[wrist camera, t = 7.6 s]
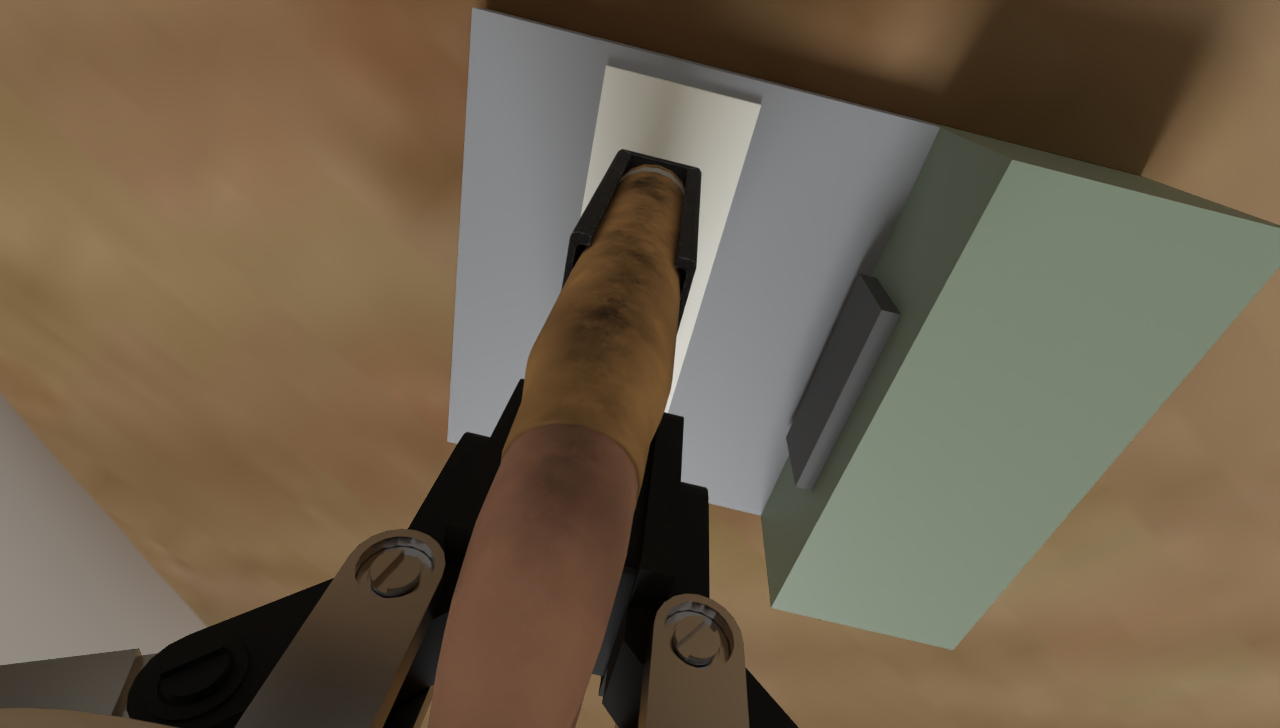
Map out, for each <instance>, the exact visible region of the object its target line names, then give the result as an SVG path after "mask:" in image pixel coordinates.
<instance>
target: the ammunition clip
mask: <svg viewBox="0 0 1280 728" xmlns="http://www.w3.org/2000/svg"><path fill="white" fill-rule="evenodd" d="M701 176H702V172H701V171H700V169H699V168H697V167H693V166H689V165H685V164H681V163H677V162H673V161H669V160H665V159H661V158H657V157H653V156H649V155H645V154H641V153H637V152H633V151H629V150H625V149H621V150H619V151H618V152H617V154H616V156H615V158H614V159H613V161H612V163H611V165H610V166H609V168H608V170H607V172H606V174H605V175H604V177H603V179H602V181H601V182H600V184H599V186H598V188H597V189H596V191H595V193H594V195H593V197H592V198H591V200H590V202H589V204H588V205H587V207H586V209H585V211H584V212H583V214H582V216H581V218H580V220H579V221H578V223H577V225H576V227H575V228H574V230H573V232H572V234H571V236H570V240H569V246H568V252H567V258H566V264H565V271H564V277H563V283H562V289H561V292H560V294H559V296H558V298H557V300H556V302H555V304H554V306H553V308H552V310H551V312H550V314H549V316H548V318H547V320H546V322H545V324H544V325H543V327H542V329H541V331H540V333H539V335H538V337H537V339H536V341H535V343H534V345H533V347H532V349H531V352H530V354H529V357H528V361H527V366H526V372H525V379H524V387H523V395H522V402H521V405H520V407H519V410H518V412H517V415H516V417H515V420H514V422H513V425H512V427H511V430H510V433H509V435H508V438H507V440H506V443H505V445H504V448H503V450H502V458H501V464H500V467H499V469H498V471H497V473H496V476H495V478H494V480H493V483H492V485H491V487H490V490H489V492H488V494H487V497H486V499H485V501H484V504H483V506H482V508H481V511H480V513H479V516H478V518H477V520H476V523H475V526H474V529H473V533H472V536H471V539H470V542H469V545H468V548H467V551H466V555H465V558H464V561H463V565H462V568H461V571H460V575H459V578H458V581H457V584H456V588H455V591H454V594H453V598H452V601H451V606H450V610H449V614H448V619H447V623H446V627H445V631H444V636H443V641H442V646H441V651H440V656H439V661H438V666H437V670H436V677H435V684H434V690H433V697H432V703H431V710H430V717H429V723H428V728H575V726H576V723H577V719H578V716H579V712H580V709H581V705H582V701H583V698H584V694H585V691H586V688H587V686H588V683H589V680H590V677H591V675H592V672H593V669H594V666H595V663H596V660H597V657H598V655H599V652H600V649H601V645H602V642H603V639H604V635H605V632H606V629H607V625H608V621H609V618H610V614H611V611H612V607H613V604H614V600H615V597H616V593H617V590H618V586H619V583H620V579H621V575H622V571H623V567H624V564H625V560H626V556H627V550H628V545H629V539H630V533H631V527H632V521H633V515H634V511H635V508H636V503H637V499H638V496H639V492H640V489H641V486H642V482H643V477H644V472H645V467H646V462H647V457H648V452H649V446H650V443H651V441H652V438H653V436H654V434H655V432H656V430H657V428H658V426H659V424H660V421H661V419H662V416H663V414H664V411H665V408H666V404H667V401H668V398H669V394H670V391H671V385H672V379H673V369H674V358H675V348H676V338H677V333H678V330H679V326H680V323H681V319H682V316H683V312H684V309H685V306H686V302H687V299H688V295H689V292H690V288H691V285H692V281H693V278H694V274H695V271H696V267H697V249H698V231H699V213H700V194H701Z"/></svg>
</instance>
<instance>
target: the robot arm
mask: <svg viewBox="0 0 1280 728" xmlns="http://www.w3.org/2000/svg"><path fill="white" fill-rule="evenodd" d="M523 387H524V379H520V380H519V382H518V384H517V386H516V388H515V390H514V392H513V394H512V396H511V398H510V400H509V402H508V404H507V405H506V407H505V409H504V411H503V413H502V415H501V417H500V419H499V421H498V423H497V425H496V427H495V429H494V431H493V433H492V435H491V437H488V436H483V435H479V434H475V433H470V432H466V433H464V434H463V436H462V437H461V439H460V440H459V442H458V444H457V446H456V447H455V449H454V451H453V452H452V454H451V456H450V458H449V459H448V461H447V463H446V464H445V466H444V468H443V470H442V471H441V473H440V475H439V476H438V478H437V480H436V482H435V483H434V485H433V487H432V488H431V490H430V492H429V494H428V495H427V497H426V499H425V500H424V502H423V504H422V506H421V507H420V509H419V511H418V512H417V514H416V516H415V518H414V519H413V521H412V523H411V524H410V526H409V528H408V529H397V530H389V531H385V532H382V533H379V534H376V535H374V536H371V537H370V538H368V539H367V540H365V541H364V542H362V543H361V544H359V545H358V546H357V547H356V548H355V550H354V551H353V552H352V553H351V554H350V555H349V557H348V558H347V560H346V561H345V563H344V564H343V566H342V567H341V569H340V570H339V572H338V573H337V575H336V576H335V578H333V579H330V580H328V581H325V582H323V583H320V584H317V585H315V586H312V587H310V588H307V589H305V590H302V591H300V592H297V593H294V594H292V595H289V596H287V597H284V598H282V599H279V600H277V601H274V602H271V603H269V604H266V605H264V606H261V607H259V608H256V609H254V610H251V611H248V612H246V613H243V614H241V615H238V616H236V617H233V618H231V619H228V620H225V621H223V622H220V623H218V624H215V625H213V626H210V627H208V628H205V629H203V630H200V631H197V632H195V633H193V634H190V635H188V636H186V637H184V638H182V639H180V640H178V641H176V642H174V643H172V644H170V645H168V646H167V647H166V648H165V649H163V650H162V651H160V652H159V653H157V654H150V655H141V652H140V650H139V648H138V649H130V650H123V651H114V652H105V653H98V654H89V655H81V656H73V657H65V658H56V659H48V660H40V661H32V662H24V663H15V664H8V665H0V728H420V727H421V724H422V722H423V719H424V717H425V715H426V712H427V710H428V707H429V705H430V702H431V700H432V697H433V690H434V684H435V677H436V670H437V666H438V661H439V656H440V651H441V646H442V641H443V636H444V631H445V627H446V623H447V619H448V614H449V610H450V606H451V601H452V598H453V594H454V591H455V588H456V584H457V581H458V578H459V575H460V571H461V568H462V565H463V561H464V558H465V555H466V551H467V548H468V545H469V542H470V539H471V536H472V533H473V529H474V526H475V523H476V520H477V518H478V516H479V513H480V511H481V508H482V506H483V504H484V501H485V499H486V497H487V494H488V492H489V490H490V487H491V485H492V483H493V480H494V478H495V476H496V473H497V471H498V469H499V467H500V464H501V458H502V450H503V448H504V445H505V443H506V440H507V438H508V435H509V433H510V430H511V427H512V425H513V422H514V420H515V417H516V415H517V412H518V410H519V407H520V405H521V402H522V395H523ZM683 430H684V417H683V416H678V415H674V414H670V413H666V412H664V414H663V416H662V419H661V421H660V424H659V426H658V428H657V430H656V432H655V434H654V436H653V438H652V441H651V443H650V446H649V452H648V457H647V462H646V467H645V472H644V477H643V482H642V486H641V489H640V492H639V496H638V499H637V503H636V508H635V511H634V515H633V521H632V527H631V533H630V539H629V545H628V550H627V556H626V560H625V564H624V567H623V571H622V575H621V579H620V583H619V586H618V590H617V593H616V597H615V600H614V604H613V607H612V611H611V614H610V618H609V621H608V625H607V629H606V632H605V635H604V639H603V642H602V645H601V649H600V652H599V655H598V657H597V660H596V663H595V666H594V669H593V672H592V674H595V675H600V676H601V682H600V688H599V696H603V701H602V704H603V705H604V707H605V708H606V710H607V711H608V712H609V714H610V715H611V717H612V718H613V720H614V721H615V723H616V724H615V728H798V727H797V725H796V724H795V723H794V722H793V721H792V720H791V719H790V717H789V716H788V715H787V714H786V713H785V712H784V711H783V709H782V708H781V707H780V706H779V705H778V704H777V703H776V702H775V700H774V699H773V698H772V697H771V696H770V695H769V694H768V692H767V691H766V690H765V689H764V688H763V687H762V686H761V684H760V683H759V682H758V681H757V680H756V679H755V678H754V676H753V675H752V674H751V673H750V672H749V671H748V670H747V668H746V667H745V655H744V643H743V638H742V634H741V630H740V628H739V626H738V625H737V623H736V621H735V619H734V618H733V616H732V615H731V614H730V613H729V612H728V611H727V610H726V609H725V608H724V607H723V606H721V605H720V604H718V603H717V602H715V601H714V600H712V599H710V598H709V496H708V489H707V488H706V487H702V486H698V485H694V484H689V483H685V482H681V470H682V450H683Z"/></svg>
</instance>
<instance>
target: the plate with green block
mask: <svg viewBox="0 0 1280 728" xmlns="http://www.w3.org/2000/svg"><path fill="white" fill-rule="evenodd" d="M621 149H625V150H629V151H633V152H637V153H641V154H645V155H649V156H653V157H657V158H661V159H665V160H669V161H673V162H677V163H681V164H685V165H689V166H693V167H697V168H699V169H700V171H701V172H702V176H701V194H700V213H699V231H698V249H697V267H696V271H695V274H694V278H693V281H692V285H691V288H690V292H689V295H688V299H687V302H686V306H685V309H684V312H683V316H682V319H681V323H680V326H679V330H678V333H677V338H676V348H675V358H674V369H673V379H672V385H671V391H670V394H669V398H668V401H667V404H666V408H665V411H664V412H666V413H670V414H674V415H678V416H683V417H684V430H683V450H682V470H681V482H685V483H689V484H694V485H698V486H702V487H706V488H707V489H708V496H709V503H710V504H714V505H718V506H723V507H727V508H731V509H735V510H739V511H744V512H748V513H752V514H756V515H761V521H762V530H763V539H764V548H765V557H766V566H767V576H768V585H769V594H770V603H771V608H774V609H778V610H782V611H787V612H791V613H795V614H800V615H804V616H808V617H813V618H817V619H821V620H826V621H830V622H834V623H839V624H843V625H847V626H851V627H856V628H860V629H864V630H869V631H873V632H877V633H882V634H886V635H890V636H895V637H899V638H903V639H908V640H912V641H916V642H920V643H925V644H929V645H933V646H938V647H942V648H946V649H951V650H953V649H954V648H955V647H956V646H957V645H958V643H959V642H960V641H961V640H962V639H963V637H964V636H965V635H966V634H967V633H968V632H969V630H970V629H971V628H972V627H973V626H974V625H975V623H976V622H977V621H978V620H979V619H980V618H981V616H982V615H983V614H984V613H985V612H986V611H987V609H988V608H989V607H990V606H991V605H992V603H993V602H994V601H995V600H996V599H997V598H998V596H999V595H1000V594H1001V593H1002V592H1003V591H1004V589H1005V588H1006V587H1007V586H1008V585H1009V584H1010V582H1011V581H1012V580H1013V579H1014V578H1015V576H1016V575H1017V574H1018V573H1019V572H1020V571H1021V569H1022V568H1023V567H1024V566H1025V565H1026V564H1027V562H1028V561H1029V560H1030V559H1031V558H1032V557H1033V555H1034V554H1035V553H1036V552H1037V551H1038V550H1039V548H1040V547H1041V546H1042V545H1043V544H1044V542H1045V541H1046V540H1047V539H1048V538H1049V537H1050V535H1051V534H1052V533H1053V532H1054V531H1055V530H1056V528H1057V527H1058V526H1059V525H1060V524H1061V523H1062V521H1063V520H1064V519H1065V518H1066V517H1067V515H1068V514H1069V513H1070V512H1071V511H1072V510H1073V508H1074V507H1075V506H1076V505H1077V504H1078V503H1079V501H1080V500H1081V499H1082V498H1083V497H1084V496H1085V494H1086V493H1087V492H1088V491H1089V490H1090V489H1091V487H1092V486H1093V485H1094V484H1095V483H1096V481H1097V480H1098V479H1099V478H1100V477H1101V476H1102V474H1103V473H1104V472H1105V471H1106V470H1107V469H1108V467H1109V466H1110V465H1111V464H1112V463H1113V462H1114V460H1115V459H1116V458H1117V457H1118V456H1119V454H1120V453H1121V452H1122V451H1123V450H1124V449H1125V447H1126V446H1127V445H1128V444H1129V443H1130V442H1131V440H1132V439H1133V438H1134V437H1135V436H1136V435H1137V433H1138V432H1139V431H1140V430H1141V429H1142V427H1143V426H1144V425H1145V424H1146V423H1147V422H1148V420H1149V419H1150V418H1151V417H1152V416H1153V415H1154V413H1155V412H1156V411H1157V410H1158V409H1159V408H1160V406H1161V405H1162V404H1163V403H1164V402H1165V401H1166V399H1167V398H1168V397H1169V396H1170V395H1171V393H1172V392H1173V391H1174V390H1175V389H1176V388H1177V386H1178V385H1179V384H1180V383H1181V382H1182V381H1183V379H1184V378H1185V377H1186V376H1187V375H1188V374H1189V372H1190V371H1191V370H1192V369H1193V368H1194V366H1195V365H1196V364H1197V363H1198V362H1199V361H1200V359H1201V358H1202V357H1203V356H1204V355H1205V354H1206V352H1207V351H1208V350H1209V349H1210V348H1211V347H1212V345H1213V344H1214V343H1215V342H1216V341H1217V340H1218V338H1219V337H1220V336H1221V335H1222V334H1223V332H1224V331H1225V330H1226V329H1227V328H1228V327H1229V325H1230V324H1231V323H1232V322H1233V321H1234V320H1235V318H1236V317H1237V316H1238V315H1239V314H1240V313H1241V311H1242V310H1243V309H1244V308H1245V307H1246V305H1247V304H1248V303H1249V302H1250V301H1251V300H1252V298H1253V297H1254V296H1255V295H1256V294H1257V293H1258V291H1259V290H1260V289H1261V288H1262V287H1263V286H1264V284H1265V283H1266V282H1267V281H1268V280H1269V279H1270V277H1271V276H1272V275H1273V274H1274V273H1275V271H1276V270H1277V269H1278V268H1279V267H1280V225H1277V224H1274V223H1271V222H1269V221H1266V220H1263V219H1260V218H1257V217H1255V216H1252V215H1249V214H1246V213H1243V212H1240V211H1238V210H1235V209H1232V208H1229V207H1226V206H1223V205H1221V204H1218V203H1215V202H1212V201H1209V200H1207V199H1204V198H1201V197H1198V196H1195V195H1192V194H1190V193H1187V192H1184V191H1181V190H1178V189H1176V188H1173V187H1170V186H1167V185H1164V184H1161V183H1159V182H1156V181H1153V180H1150V179H1147V178H1145V177H1142V176H1138V175H1134V174H1130V173H1126V172H1122V171H1118V170H1114V169H1111V168H1107V167H1103V166H1099V165H1095V164H1091V163H1087V162H1083V161H1079V160H1075V159H1072V158H1068V157H1064V156H1060V155H1056V154H1052V153H1048V152H1044V151H1040V150H1036V149H1033V148H1029V147H1025V146H1021V145H1017V144H1013V143H1009V142H1005V141H1001V140H997V139H994V138H990V137H986V136H982V135H978V134H974V133H970V132H966V131H962V130H958V129H954V128H951V127H947V126H943V125H939V124H935V123H931V122H927V121H923V120H919V119H915V118H912V117H908V116H904V115H900V114H896V113H892V112H888V111H884V110H880V109H876V108H873V107H869V106H865V105H861V104H857V103H853V102H849V101H845V100H841V99H837V98H834V97H830V96H826V95H822V94H818V93H814V92H810V91H806V90H802V89H798V88H795V87H791V86H787V85H783V84H779V83H775V82H771V81H767V80H763V79H759V78H756V77H752V76H748V75H744V74H740V73H736V72H732V71H728V70H724V69H720V68H717V67H713V66H709V65H705V64H701V63H697V62H693V61H689V60H685V59H681V58H678V57H674V56H670V55H666V54H662V53H658V52H654V51H650V50H646V49H642V48H638V47H635V46H631V45H627V44H623V43H619V42H615V41H611V40H607V39H603V38H599V37H596V36H592V35H588V34H584V33H580V32H576V31H572V30H568V29H564V28H560V27H557V26H553V25H549V24H545V23H541V22H537V21H533V20H529V19H525V18H521V17H518V16H514V15H510V14H506V13H502V12H498V11H494V10H490V9H486V8H473V7H472V22H471V39H470V56H469V74H468V91H467V109H466V126H465V143H464V161H463V178H462V196H461V213H460V230H459V248H458V265H457V283H456V300H455V317H454V335H453V352H452V370H451V387H450V404H449V422H448V439H447V442H451V443H456V444H458V442H459V440H460V439H461V437H462V436H463V434H464V433H466V432H470V433H475V434H479V435H483V436H488V437H491V435H492V433H493V431H494V429H495V427H496V425H497V423H498V421H499V419H500V417H501V415H502V413H503V411H504V409H505V407H506V405H507V404H508V402H509V400H510V398H511V396H512V394H513V392H514V390H515V388H516V386H517V384H518V382H519V380H520V379H525V372H526V366H527V361H528V357H529V354H530V352H531V349H532V347H533V345H534V343H535V341H536V339H537V337H538V335H539V333H540V331H541V329H542V327H543V325H544V324H545V322H546V320H547V318H548V316H549V314H550V312H551V310H552V308H553V306H554V304H555V302H556V300H557V298H558V296H559V294H560V292H561V289H562V283H563V277H564V271H565V264H566V258H567V252H568V246H569V240H570V236H571V234H572V232H573V230H574V228H575V227H576V225H577V223H578V221H579V220H580V218H581V216H582V214H583V212H584V211H585V209H586V207H587V205H588V204H589V202H590V200H591V198H592V197H593V195H594V193H595V191H596V189H597V188H598V186H599V184H600V182H601V181H602V179H603V177H604V175H605V174H606V172H607V170H608V168H609V166H610V165H611V163H612V161H613V159H614V158H615V156H616V154H617V152H618V151H619V150H621Z"/></svg>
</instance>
